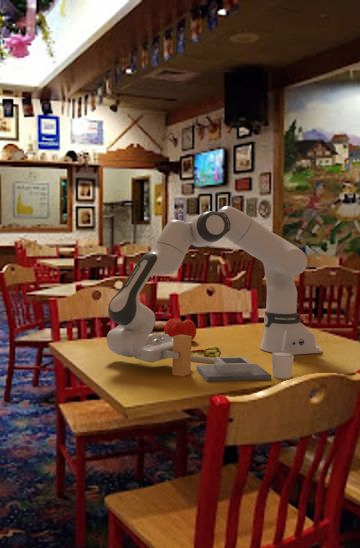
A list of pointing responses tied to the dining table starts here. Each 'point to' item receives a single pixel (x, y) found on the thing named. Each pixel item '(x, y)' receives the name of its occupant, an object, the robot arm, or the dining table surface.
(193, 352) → the pizza slice
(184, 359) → the orange rectangular block
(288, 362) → the white tapered cup
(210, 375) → the square socket plate
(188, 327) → the tomato
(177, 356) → the robot arm
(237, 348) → the dining table surface
